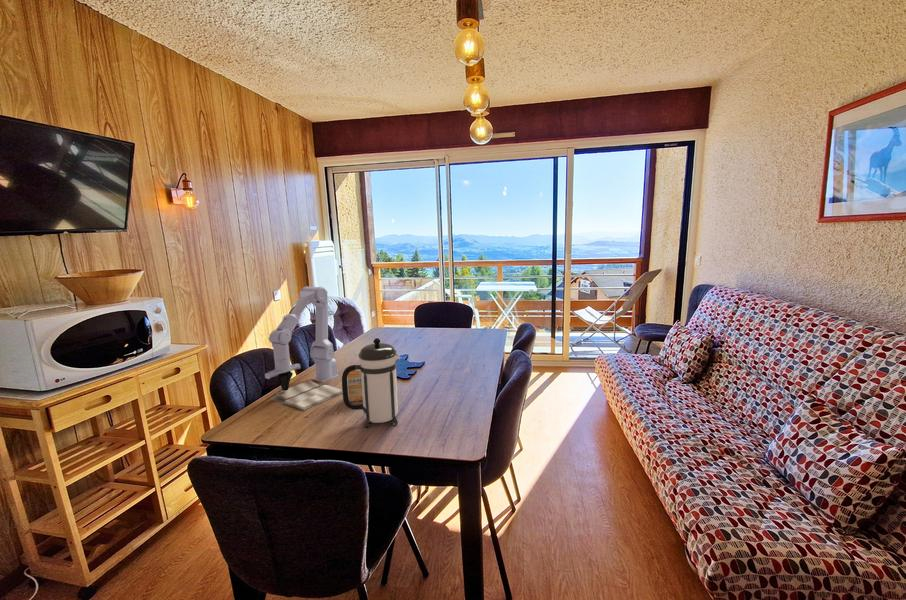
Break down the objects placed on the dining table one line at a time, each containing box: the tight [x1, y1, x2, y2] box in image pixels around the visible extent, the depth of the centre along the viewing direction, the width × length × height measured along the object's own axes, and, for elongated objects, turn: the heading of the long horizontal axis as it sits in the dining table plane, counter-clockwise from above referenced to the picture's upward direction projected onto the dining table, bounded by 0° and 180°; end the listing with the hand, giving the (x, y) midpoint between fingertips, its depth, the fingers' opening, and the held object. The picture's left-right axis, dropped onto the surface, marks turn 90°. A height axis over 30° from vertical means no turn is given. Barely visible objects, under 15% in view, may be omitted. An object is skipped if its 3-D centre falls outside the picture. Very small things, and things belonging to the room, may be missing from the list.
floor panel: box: [270, 384, 343, 412], centre depth 151 cm, size 20×22×2 cm
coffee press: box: [341, 337, 402, 429], centre depth 127 cm, size 17×16×30 cm
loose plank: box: [275, 379, 320, 401], centre depth 155 cm, size 16×7×1 cm, turn 148°
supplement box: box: [347, 369, 363, 403], centre depth 147 cm, size 8×5×13 cm, turn 105°
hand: (285, 389), depth 151 cm, fingers closed
